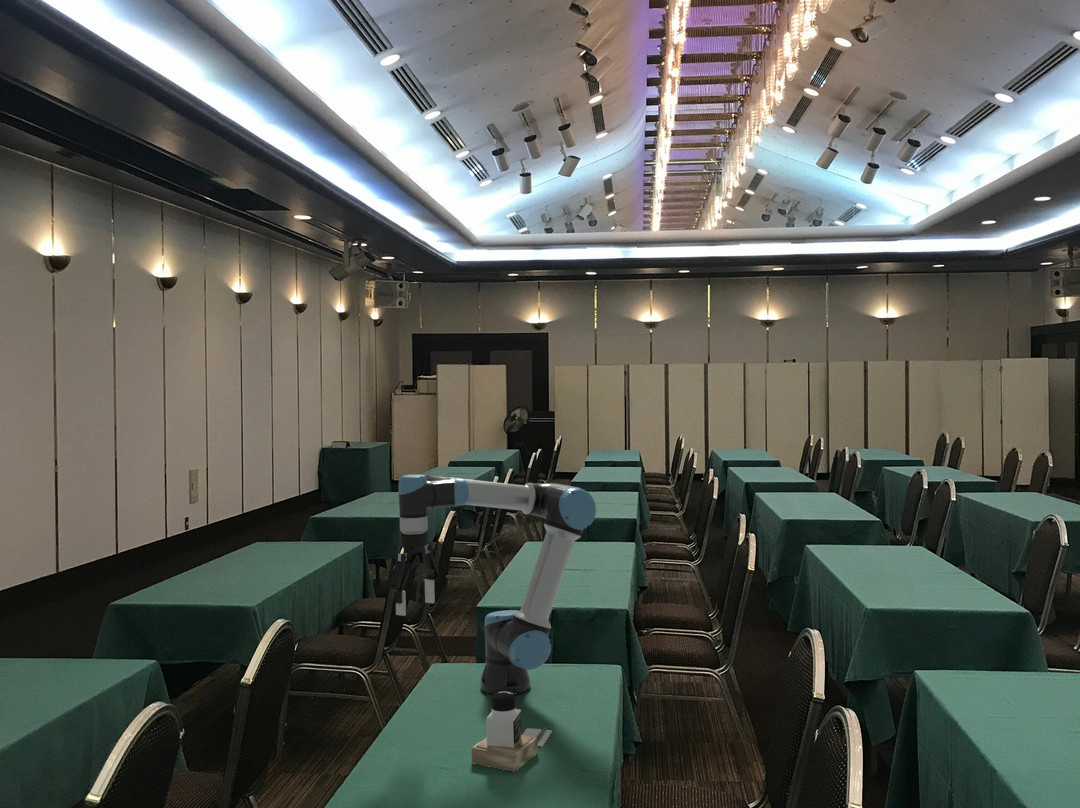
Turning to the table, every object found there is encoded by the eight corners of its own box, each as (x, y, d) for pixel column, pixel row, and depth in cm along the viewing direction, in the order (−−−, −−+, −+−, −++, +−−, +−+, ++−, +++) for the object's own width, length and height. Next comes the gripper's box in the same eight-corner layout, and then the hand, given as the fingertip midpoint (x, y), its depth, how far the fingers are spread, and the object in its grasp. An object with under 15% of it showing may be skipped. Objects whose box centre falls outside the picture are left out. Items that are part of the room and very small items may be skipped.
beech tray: (496, 745, 235) (496, 729, 235) (537, 753, 229) (537, 736, 229) (471, 763, 224) (471, 746, 224) (514, 772, 219) (514, 755, 218)
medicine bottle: (514, 748, 222) (513, 700, 222) (486, 746, 224) (485, 698, 223) (522, 736, 229) (520, 689, 229) (494, 734, 231) (493, 688, 230)
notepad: (526, 731, 244) (526, 724, 244) (552, 734, 243) (552, 726, 243) (516, 747, 235) (516, 739, 235) (542, 749, 233) (542, 742, 233)
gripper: (428, 523, 261) (430, 596, 262) (374, 538, 239) (376, 618, 240) (450, 525, 258) (452, 599, 259) (397, 540, 236) (399, 621, 237)
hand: (415, 608), depth 250 cm, fingers open, 13 cm apart
